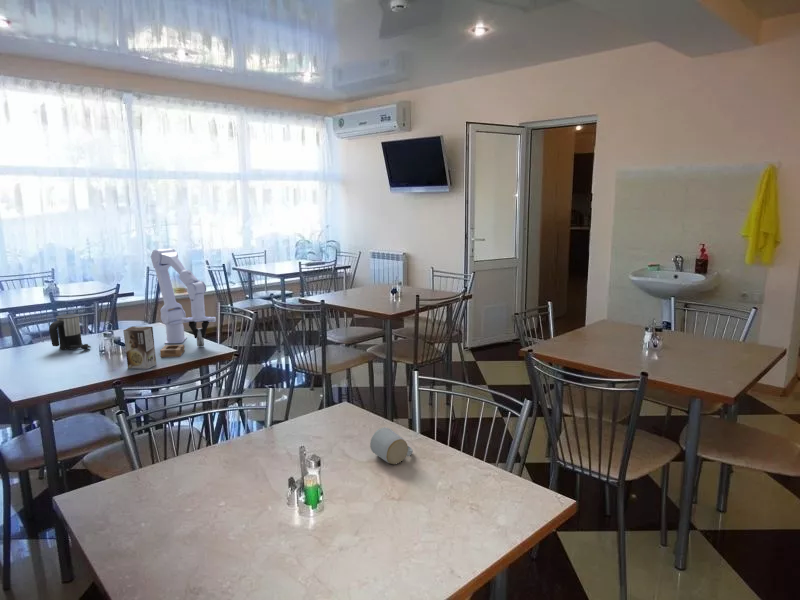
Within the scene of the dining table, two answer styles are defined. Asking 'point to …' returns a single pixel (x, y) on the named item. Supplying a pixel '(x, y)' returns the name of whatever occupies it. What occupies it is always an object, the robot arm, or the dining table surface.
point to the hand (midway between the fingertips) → (200, 337)
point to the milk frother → (67, 332)
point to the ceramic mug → (389, 446)
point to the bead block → (172, 350)
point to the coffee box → (139, 347)
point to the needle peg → (200, 337)
